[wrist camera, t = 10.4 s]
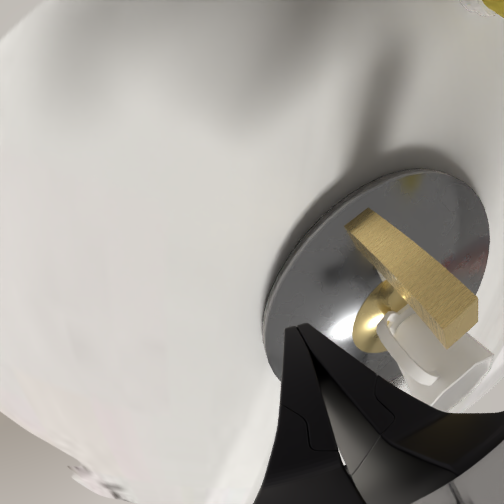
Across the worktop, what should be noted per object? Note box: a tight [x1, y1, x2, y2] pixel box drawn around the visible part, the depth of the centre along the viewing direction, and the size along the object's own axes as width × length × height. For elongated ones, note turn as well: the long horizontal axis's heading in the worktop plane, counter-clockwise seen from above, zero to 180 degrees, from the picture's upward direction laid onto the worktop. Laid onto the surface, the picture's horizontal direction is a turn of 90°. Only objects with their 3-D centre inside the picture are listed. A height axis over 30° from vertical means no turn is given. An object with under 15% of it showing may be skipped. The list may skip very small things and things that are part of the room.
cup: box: [376, 304, 494, 412], centre depth 17 cm, size 7×10×8 cm
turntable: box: [262, 169, 490, 382], centre depth 17 cm, size 22×22×10 cm
